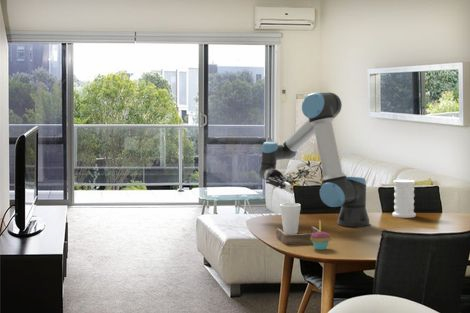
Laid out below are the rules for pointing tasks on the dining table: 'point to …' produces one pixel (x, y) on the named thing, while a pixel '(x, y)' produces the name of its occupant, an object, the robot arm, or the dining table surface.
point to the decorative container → (404, 198)
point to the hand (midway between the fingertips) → (289, 187)
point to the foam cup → (290, 217)
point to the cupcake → (320, 239)
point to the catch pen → (295, 237)
